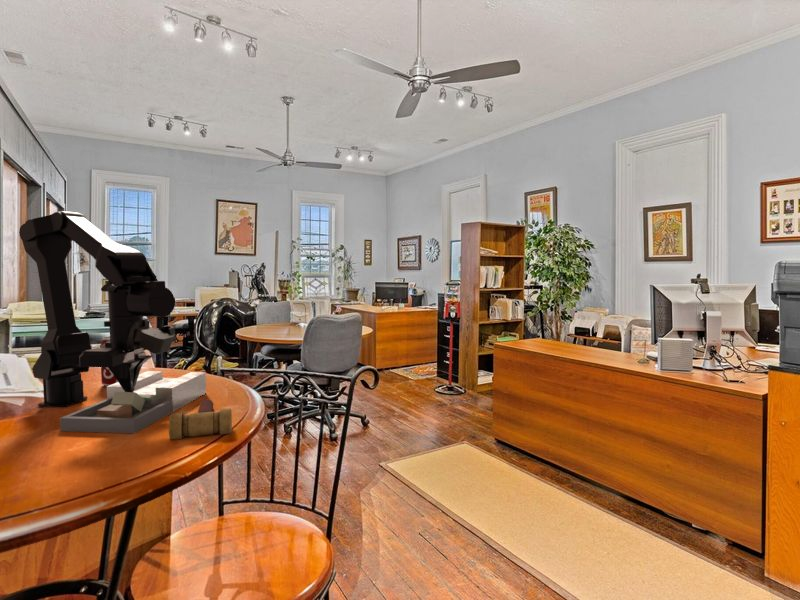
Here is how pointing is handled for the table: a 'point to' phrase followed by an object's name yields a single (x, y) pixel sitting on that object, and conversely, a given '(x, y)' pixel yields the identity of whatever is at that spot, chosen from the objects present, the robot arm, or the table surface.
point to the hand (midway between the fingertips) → (129, 393)
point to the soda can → (107, 369)
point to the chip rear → (129, 400)
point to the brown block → (116, 411)
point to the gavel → (200, 422)
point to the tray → (112, 419)
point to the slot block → (165, 389)
